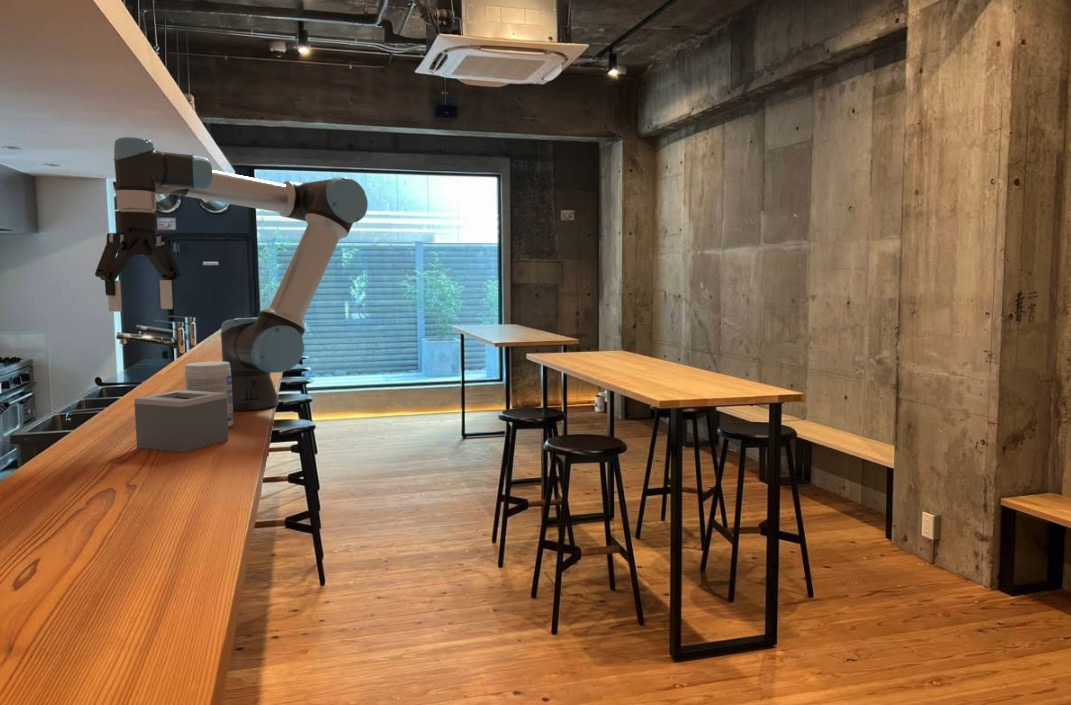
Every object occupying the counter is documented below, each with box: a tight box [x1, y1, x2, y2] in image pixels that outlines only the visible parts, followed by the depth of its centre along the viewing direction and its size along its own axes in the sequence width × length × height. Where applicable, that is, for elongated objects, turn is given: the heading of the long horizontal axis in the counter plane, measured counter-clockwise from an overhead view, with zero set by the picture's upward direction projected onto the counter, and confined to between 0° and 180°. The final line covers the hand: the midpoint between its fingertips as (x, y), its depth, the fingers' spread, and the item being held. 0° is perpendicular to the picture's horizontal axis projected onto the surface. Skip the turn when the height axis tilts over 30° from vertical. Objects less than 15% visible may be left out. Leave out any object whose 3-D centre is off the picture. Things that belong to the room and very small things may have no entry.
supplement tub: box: [184, 361, 234, 428], centre depth 167 cm, size 10×10×15 cm
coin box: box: [133, 389, 229, 454], centre depth 151 cm, size 12×12×10 cm
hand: (142, 310), depth 162 cm, fingers open, 13 cm apart
